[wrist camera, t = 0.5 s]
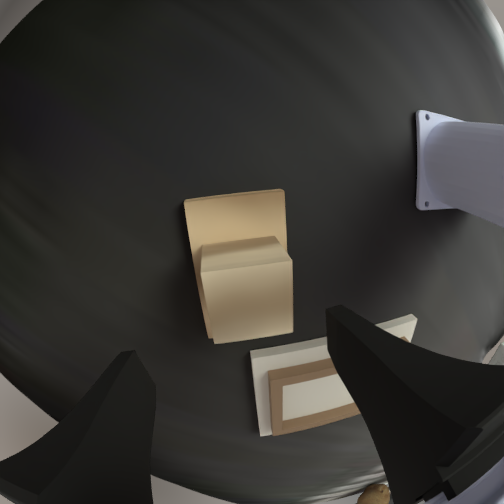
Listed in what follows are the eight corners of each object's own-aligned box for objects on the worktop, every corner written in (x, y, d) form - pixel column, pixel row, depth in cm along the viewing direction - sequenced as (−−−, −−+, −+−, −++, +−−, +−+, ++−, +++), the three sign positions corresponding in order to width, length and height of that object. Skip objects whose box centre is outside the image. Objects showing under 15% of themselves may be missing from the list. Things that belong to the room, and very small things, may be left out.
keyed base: (411, 313, 23) (424, 325, 21) (384, 396, 28) (391, 407, 26) (249, 350, 21) (253, 369, 19) (259, 429, 26) (262, 444, 24)
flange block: (185, 198, 17) (175, 219, 12) (279, 188, 17) (305, 204, 13) (208, 328, 20) (209, 377, 16) (284, 317, 21) (303, 362, 16)
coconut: (348, 495, 49) (358, 520, 40) (360, 485, 46) (372, 512, 37) (374, 486, 51) (385, 509, 42) (387, 475, 48) (400, 500, 39)
